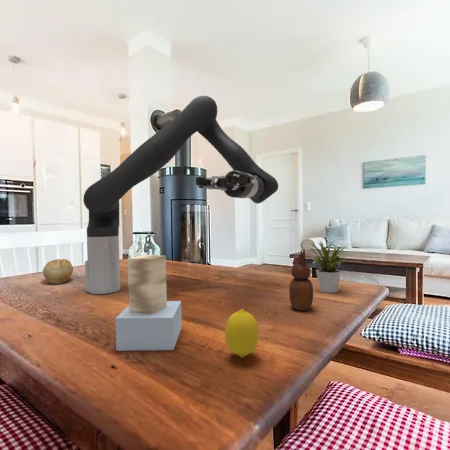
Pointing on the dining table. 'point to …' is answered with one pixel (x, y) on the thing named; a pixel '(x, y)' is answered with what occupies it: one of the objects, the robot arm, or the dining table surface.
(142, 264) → the birch block
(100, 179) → the robot arm
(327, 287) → the house plant
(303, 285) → the wooden figurine
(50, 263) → the bread roll
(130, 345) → the slate block
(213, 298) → the dining table surface
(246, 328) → the lemon
